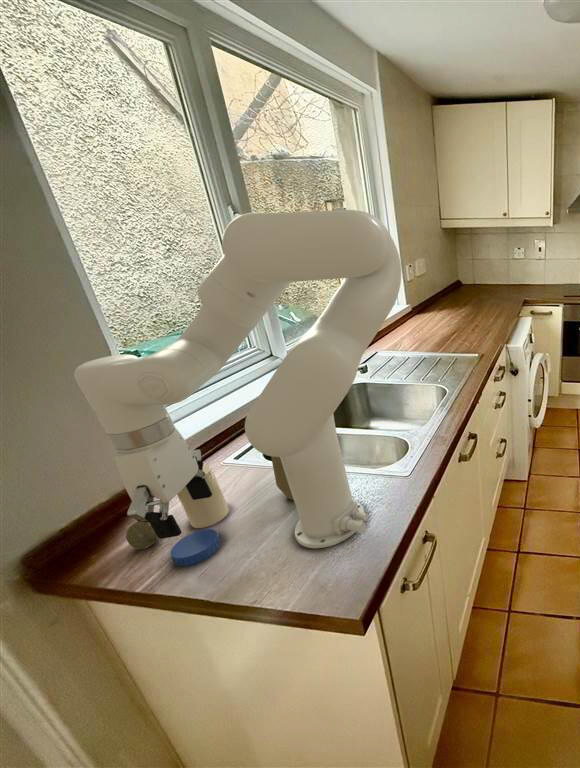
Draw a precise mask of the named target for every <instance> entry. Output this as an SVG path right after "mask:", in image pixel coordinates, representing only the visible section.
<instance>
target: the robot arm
mask: <svg viewBox="0 0 580 768" xmlns="http://www.w3.org/2000/svg"><path fill="white" fill-rule="evenodd" d="M221 246H222V247H221V248H222V252H223V255H222V257H220V259H219V260H218V261H217V262H216V264H214V266H213V267H212V268H211V270H210V271H209V272H208V274H207V275H206V276H205V278H204V279H203V280H202V281H201V282H200V284H199V285H198V287H197V292H196V293H197V296H198V298H199V300H200V301H201V306H200V309H199V311H198V313H197V314H196V315H195V317H194V318H193V320H192V321H191V323H189V325H188V326H187V327H186V329H184V331H183V332H182V333H181V334H180V336H179V337H178V338H176V340H175V341H173V342H172V343H170V344H168V345H166V346H165V347H163V348H161V349H159V350H157V351H155V352H153V353H151V354H149V355H147V356H144V357H143V358H140V357H139V356H136V355H135V354H129V353H128V354H127V353H126V354H115V355H109V356H103V357H100V358H96V359H92V360H89V361H86V362H84V363H81V364H80V365H79V366H77V367H76V368H75V369H74V372H73V376H74V380H75V382H76V384H77V386H78V387H79V389H80V390H81V392H82V394H83V396H84V397H85V399H86V401H87V403H88V405H89V406H90V408H91V409H92V411H93V413H94V415H95V416H96V418H97V420H98V422H99V423H100V425H101V427H102V428H103V430H104V432H105V433H106V435H107V437H108V439H109V440H110V443H111V444H112V446H113V447H114V450H115V451H116V452H115V454H114V460H115V464H116V468H117V471H118V474H119V477H120V479H121V481H122V484H123V486H124V488H125V490H126V493H127V494H128V496H129V498H130V500H131V502H130V504H129V508H128V510H127V511H126V515H127V516H128V517H130V518H132V519H134V520H136V522H145V523H150V524H151V526H152V528H153V529H154V531H155V533H156V535H157V536H158V538H159V539H160V540H164V539H169V538H175V537H180V535H181V534H182V529H181V528H180V525H179V524H178V522H177V520H176V519H175V516H174V515H173V514H169V512H170V511H169V508H170V502H171V501H172V500H173V499H175V497H176V496H177V494H178V493H179V492H180V491H181V490H182V489H183V488H184V487H185V486H186V488H187V490H188V492H189V494H190V495H191V497H192V499H193V500H197V499H203V498H209V497H211V496H212V492H211V490H210V488H209V486H208V484H207V482H206V480H205V478H204V477H205V472H204V471H202V470H203V465H204V461H203V460H202V450H201V449H200V448H199V449H191V447H190V446H189V444H188V442H187V441H186V439H185V438H184V436H183V435H182V434H181V433H180V431H179V430H178V429H177V428H176V426H175V424H174V422H173V420H172V418H171V416H170V414H169V411H168V410H167V407H166V406H169V405H174V404H178V403H181V402H183V401H185V400H187V399H188V398H190V397H191V396H192V395H193V394H194V393H196V392H197V391H198V390H199V389H200V388H202V386H204V385H205V384H206V383H207V382H209V381H210V380H211V379H212V378H213V377H215V376H216V375H217V374H218V373H219V371H220V370H221V369H223V367H224V366H225V365H226V364H227V362H228V361H229V360H230V359H231V357H232V356H233V355H234V354H235V353H236V351H237V350H238V349H239V348H240V347H241V345H242V344H243V343H244V341H245V340H246V339H247V337H248V336H249V334H250V333H251V332H252V331H253V330H255V328H256V327H257V325H258V323H260V321H261V320H262V319H263V318H264V316H265V315H266V314H267V313H268V311H270V309H271V308H272V306H274V304H275V302H276V301H277V300H278V299H279V297H281V295H282V294H283V293H284V291H286V289H287V288H288V287H289V286H290V285H291V284H292V283H297V282H299V283H300V282H311V281H322V280H323V281H324V280H337V279H343V280H342V282H341V283H340V284H339V286H338V288H336V289H337V290H335V292H334V294H333V295H332V297H331V299H330V300H329V302H328V303H327V305H326V307H325V308H324V309H323V311H322V313H321V314H320V315H319V317H318V318H317V320H316V321H315V322H314V323H313V325H312V326H311V327H310V328H308V330H307V331H306V332H305V333H304V334H303V335H302V336H301V337H299V339H298V340H297V341H296V342H295V344H294V345H292V347H291V348H290V350H289V351H288V352H287V354H286V355H285V356H284V357H283V359H282V361H281V362H280V363H279V366H278V367H277V369H276V370H275V371H274V373H273V374H272V376H271V377H270V379H269V381H268V382H267V383H266V385H265V387H264V388H263V389H262V391H261V393H260V394H259V396H258V397H257V399H256V400H255V401H254V403H253V404H252V405H251V408H250V409H249V411H248V412H247V414H246V416H245V421H244V432H245V436H246V438H247V441H248V442H249V444H250V445H251V446H252V447H253V448H254V449H255V450H256V451H258V452H259V453H260V454H263V455H265V456H269V457H271V456H273V457H280V458H281V462H282V465H283V468H284V472H285V475H286V478H287V481H288V484H289V487H290V490H291V493H292V496H293V499H294V500H293V502H294V506H295V508H296V510H297V515H298V518H299V519H298V521H297V523H296V524H295V526H294V533H293V534H294V537H295V540H296V541H297V543H298V544H299V545H300V546H302V547H305V548H307V549H322V548H323V549H324V548H327V547H332V546H335V545H337V544H340V543H342V542H344V541H346V540H347V539H350V537H352V536H353V535H354V534H355V533H357V534H363V533H364V532H365V531H366V530H367V529H366V528H367V523H366V521H368V520H369V517H370V515H369V513H367V512H365V509H364V506H363V505H362V503H361V502H360V501H358V500H355V499H353V496H352V492H351V487H350V482H349V479H348V475H347V470H346V467H345V463H344V459H343V454H342V451H341V446H340V442H339V438H338V433H337V429H336V422H335V415H334V413H335V412H336V410H337V409H338V407H339V406H340V404H341V403H342V401H343V400H344V398H345V397H346V396H347V394H348V393H349V391H350V389H351V387H352V385H353V384H354V382H355V379H356V377H357V374H358V371H359V368H360V364H361V360H362V358H363V355H364V354H365V352H366V350H367V349H368V347H369V345H370V344H371V343H372V341H373V340H374V338H376V336H377V334H378V332H379V330H380V329H381V328H382V325H383V324H384V322H385V321H386V320H387V318H388V316H389V315H390V313H391V311H392V310H393V308H394V306H395V304H396V301H397V300H398V296H399V293H400V288H401V283H402V262H401V257H400V254H399V251H398V248H397V245H396V243H395V241H394V239H393V237H392V235H391V234H390V232H389V230H388V228H387V227H386V225H385V224H384V223H383V222H382V221H381V219H379V218H378V217H376V216H375V215H374V214H371V213H369V212H366V211H364V210H363V211H362V210H357V209H333V210H319V211H318V210H314V211H312V210H311V211H293V212H292V211H291V212H255V211H254V212H246V213H244V214H243V213H242V214H241V215H238V216H236V217H235V218H233V219H232V220H231V221H230V222H229V223H228V224H227V226H226V228H225V229H224V231H223V234H222V238H221ZM155 498H156V499H157V500H155ZM155 506H159V509H158V511H159V512H158V511H154V510H155Z"/></svg>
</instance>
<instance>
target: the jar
mask: <svg viewBox="0 0 580 768" xmlns="http://www.w3.org/2000/svg"><path fill="white" fill-rule="evenodd" d="M202 471H204V472H205V477H204V478H205V480H206V482H207V484H208V486H209V488H210V490H211V492H212V496H211V497H209V498H203V499H197V500H193V499H192V497H191V495H190V494H189V492H188V490H187V488H186V486H185V487H184V488H183V489H182V490H181V491H180V492H179V493H178V494H177V495H176V496H177V498H178V500H179V503H180V505H181V506H182V509H183V511H184V512H185V516H186V517H187V520H188V521H189V523H190V525H191V527H192V528H194V529H203V528H204V529H205V528H208V527H210V526H214V525H215V524H217V523H219V522H221V521H222V520H223V519H225V518H226V517H227V515H228V514H229V512H230V509H229V506H228V504H227V501H226V499H225V497H224V494H223V492H222V490H221V487H220V484H219V482H218V479H217V477H216V475H215V473H214V472H213V470H212V468H211V467H209V466H208V465H204V464H203V470H202Z"/></svg>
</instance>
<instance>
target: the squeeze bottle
mask: <svg viewBox="0 0 580 768" xmlns="http://www.w3.org/2000/svg"><path fill="white" fill-rule="evenodd" d="M270 458H271V464H272V469H273V473H274V478H275V484H276V486H277V488H278V489H279V490H280V492H282V494H284V496H285V497H286V498H287V499H289V500H292V501H294V499H293V496H292V493H291V490H290V487H289V484H288V481H287V478H286V475H285V472H284V468H283V465H282V462H281V458H280V457H273V456H270Z"/></svg>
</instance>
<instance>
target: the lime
mask: <svg viewBox="0 0 580 768" xmlns="http://www.w3.org/2000/svg"><path fill="white" fill-rule="evenodd" d="M125 539H126V541H127V543H128V545H129V546H131V548H134V549H136V550H144V549H148V548H149V547H151V546H152V545H154V544H156V543H157V542H158V540H159V539H160V538H158V536H157V535H156V533H155V531H154V529H153V528H152V526H151V524H150V523H145V522H138V521H135V522H134V523H133V524H131V525H130V526H129V527H128V529H127V531H126V534H125Z"/></svg>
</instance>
